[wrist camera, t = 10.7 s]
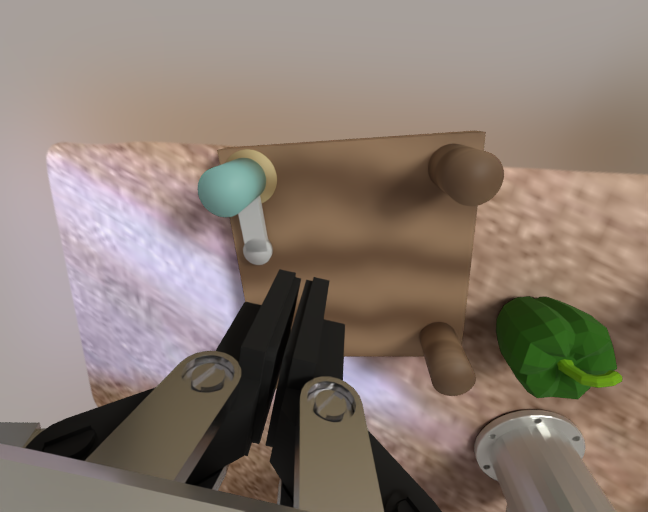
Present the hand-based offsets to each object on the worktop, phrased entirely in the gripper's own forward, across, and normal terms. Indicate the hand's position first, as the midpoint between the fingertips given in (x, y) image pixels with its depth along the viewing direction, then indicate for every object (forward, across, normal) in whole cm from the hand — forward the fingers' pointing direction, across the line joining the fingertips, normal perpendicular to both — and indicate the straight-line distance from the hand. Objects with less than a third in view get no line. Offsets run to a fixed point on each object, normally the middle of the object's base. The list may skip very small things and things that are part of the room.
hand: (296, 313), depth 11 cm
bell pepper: (+22, -23, +9) cm, 33 cm away
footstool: (+22, -3, +6) cm, 23 cm away
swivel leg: (+19, +7, +3) cm, 20 cm away
